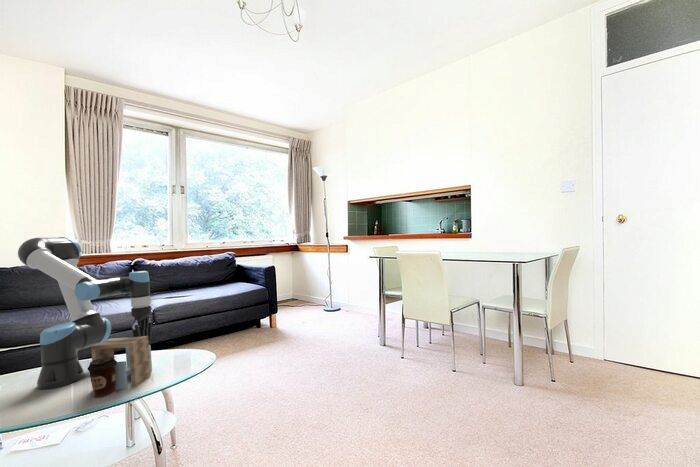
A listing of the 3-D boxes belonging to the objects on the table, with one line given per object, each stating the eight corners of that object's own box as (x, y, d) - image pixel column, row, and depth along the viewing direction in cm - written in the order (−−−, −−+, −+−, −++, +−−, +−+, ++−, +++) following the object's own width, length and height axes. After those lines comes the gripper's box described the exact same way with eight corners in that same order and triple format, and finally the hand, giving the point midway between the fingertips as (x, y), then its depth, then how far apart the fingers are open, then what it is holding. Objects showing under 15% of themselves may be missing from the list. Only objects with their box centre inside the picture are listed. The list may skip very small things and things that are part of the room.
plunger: (127, 372, 148) (126, 346, 148) (153, 370, 148) (151, 344, 148) (96, 391, 130) (94, 361, 130) (125, 388, 130) (123, 359, 130)
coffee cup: (103, 401, 121) (100, 365, 121) (84, 400, 123) (80, 365, 122) (124, 389, 130) (121, 355, 129) (106, 388, 131) (102, 355, 131)
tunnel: (112, 380, 142) (109, 338, 142) (150, 377, 142) (148, 335, 142) (94, 390, 132) (91, 346, 132) (135, 387, 132) (132, 343, 132)
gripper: (141, 304, 158) (145, 355, 158) (122, 309, 145) (126, 365, 145) (157, 302, 158) (161, 354, 158) (140, 308, 145) (144, 364, 145)
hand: (144, 359), depth 151 cm, fingers closed
